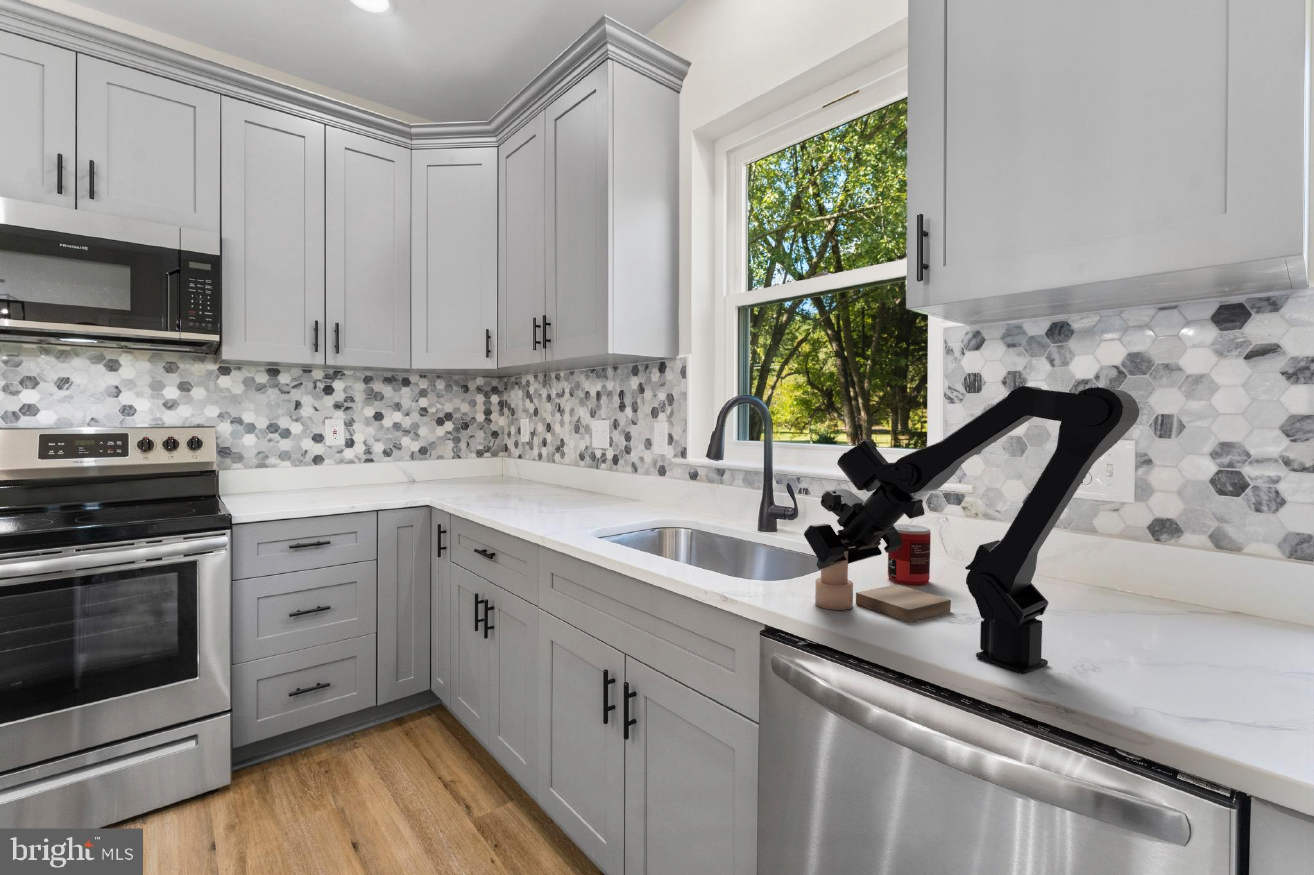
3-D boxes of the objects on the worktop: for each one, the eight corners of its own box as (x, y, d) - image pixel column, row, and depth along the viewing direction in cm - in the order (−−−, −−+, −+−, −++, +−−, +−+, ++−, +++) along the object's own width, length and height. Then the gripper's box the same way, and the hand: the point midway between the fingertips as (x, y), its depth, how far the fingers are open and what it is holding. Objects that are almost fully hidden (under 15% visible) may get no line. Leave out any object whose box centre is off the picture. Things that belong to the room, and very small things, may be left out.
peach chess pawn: (860, 606, 106) (861, 544, 106) (834, 611, 103) (835, 547, 103) (833, 596, 112) (833, 537, 111) (807, 602, 109) (808, 541, 108)
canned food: (891, 574, 129) (892, 522, 129) (931, 579, 125) (933, 526, 125) (884, 582, 123) (885, 528, 122) (926, 588, 118) (928, 532, 118)
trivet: (950, 611, 104) (950, 599, 104) (908, 621, 99) (908, 609, 99) (896, 594, 114) (896, 584, 114) (855, 603, 108) (855, 592, 108)
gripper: (889, 472, 108) (841, 524, 118) (812, 477, 99) (767, 533, 109) (927, 523, 101) (873, 573, 111) (849, 533, 92) (797, 587, 102)
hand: (828, 565), depth 108 cm, fingers closed on peach chess pawn, 5 cm apart
